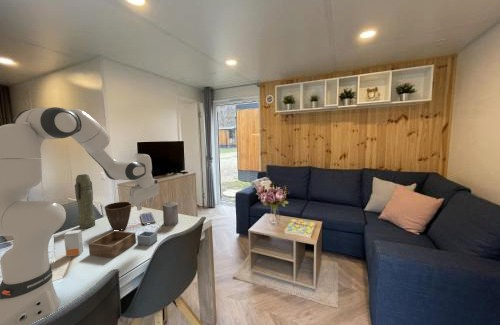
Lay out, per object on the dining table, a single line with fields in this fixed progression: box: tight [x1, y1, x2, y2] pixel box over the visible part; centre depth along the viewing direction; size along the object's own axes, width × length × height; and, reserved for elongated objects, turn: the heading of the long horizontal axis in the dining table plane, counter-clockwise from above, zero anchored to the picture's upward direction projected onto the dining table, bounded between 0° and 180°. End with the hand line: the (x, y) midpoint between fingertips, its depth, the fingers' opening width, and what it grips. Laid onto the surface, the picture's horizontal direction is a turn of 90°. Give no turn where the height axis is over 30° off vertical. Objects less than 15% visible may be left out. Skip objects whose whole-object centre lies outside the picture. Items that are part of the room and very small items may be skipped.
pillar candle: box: [162, 201, 179, 227], centre depth 151 cm, size 10×10×15 cm
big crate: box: [88, 230, 137, 259], centre depth 117 cm, size 16×14×6 cm
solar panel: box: [139, 211, 156, 225], centre depth 160 cm, size 8×23×2 cm, turn 30°
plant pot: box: [103, 201, 132, 231], centre depth 142 cm, size 15×15×16 cm
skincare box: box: [63, 229, 84, 257], centre depth 112 cm, size 6×4×12 cm
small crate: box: [136, 230, 158, 247], centre depth 124 cm, size 6×8×5 cm
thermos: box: [74, 173, 96, 230], centre depth 145 cm, size 9×12×35 cm
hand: (145, 207), depth 122 cm, fingers open, 8 cm apart
